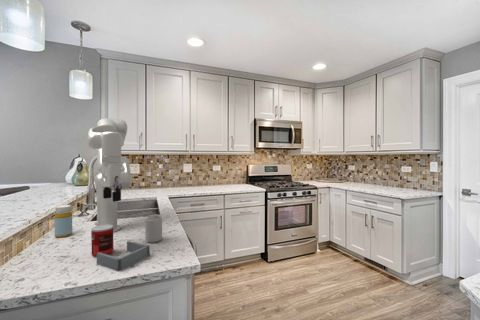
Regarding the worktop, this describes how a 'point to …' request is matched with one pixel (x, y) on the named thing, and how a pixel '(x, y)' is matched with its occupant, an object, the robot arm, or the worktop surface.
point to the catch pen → (116, 263)
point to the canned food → (102, 239)
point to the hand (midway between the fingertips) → (112, 199)
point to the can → (153, 228)
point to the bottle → (63, 221)
